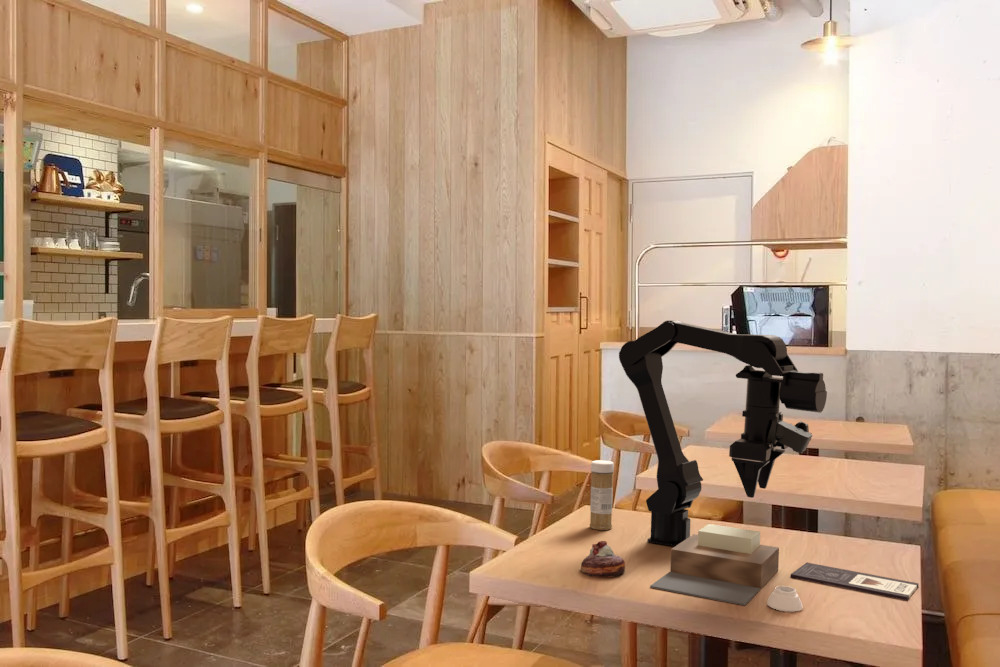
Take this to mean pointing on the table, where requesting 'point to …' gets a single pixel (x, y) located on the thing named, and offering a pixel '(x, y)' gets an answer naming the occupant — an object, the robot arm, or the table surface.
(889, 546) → the table surface
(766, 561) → the wooden block
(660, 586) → the mat
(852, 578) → the chocolate bar
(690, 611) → the table surface
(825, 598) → the table surface
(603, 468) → the sprinkles bottle
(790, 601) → the lidless jar
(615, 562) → the pastry
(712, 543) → the cream block
